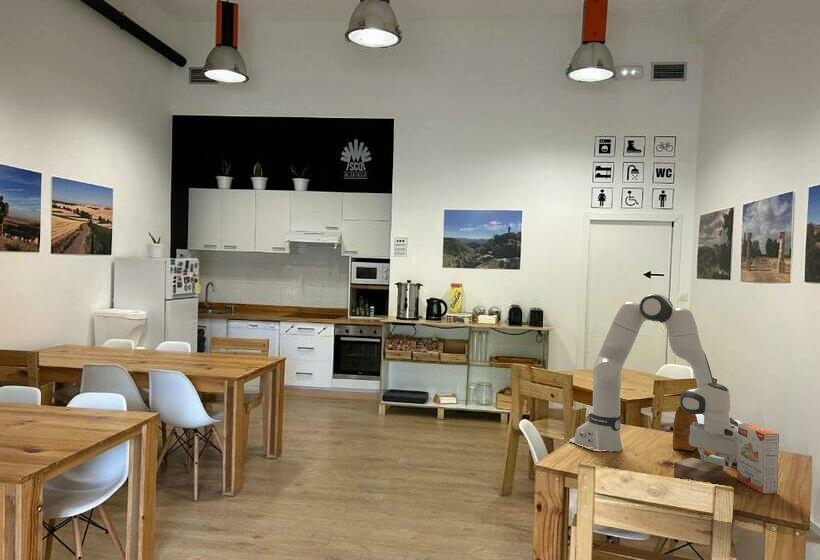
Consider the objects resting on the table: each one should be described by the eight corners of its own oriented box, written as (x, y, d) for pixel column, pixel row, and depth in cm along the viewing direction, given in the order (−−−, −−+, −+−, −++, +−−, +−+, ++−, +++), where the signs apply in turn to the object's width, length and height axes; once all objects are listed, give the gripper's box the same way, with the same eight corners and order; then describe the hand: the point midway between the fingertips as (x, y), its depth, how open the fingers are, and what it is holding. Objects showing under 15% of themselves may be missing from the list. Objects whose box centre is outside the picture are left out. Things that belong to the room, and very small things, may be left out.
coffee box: (713, 454, 249) (714, 416, 249) (730, 456, 248) (731, 417, 247) (720, 461, 240) (721, 421, 240) (737, 462, 239) (739, 422, 238)
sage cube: (704, 469, 229) (705, 456, 229) (711, 467, 232) (711, 454, 232) (718, 473, 225) (718, 460, 225) (724, 471, 228) (724, 458, 228)
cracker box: (735, 480, 218) (737, 422, 218) (751, 480, 218) (753, 423, 218) (761, 494, 204) (763, 433, 204) (778, 494, 204) (780, 433, 204)
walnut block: (673, 476, 221) (674, 462, 220) (690, 470, 228) (691, 457, 228) (706, 485, 211) (706, 471, 211) (722, 479, 218) (723, 465, 218)
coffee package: (701, 447, 259) (702, 396, 259) (694, 453, 249) (696, 401, 249) (676, 443, 265) (678, 393, 265) (669, 449, 256) (670, 397, 255)
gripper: (685, 422, 235) (685, 457, 235) (740, 433, 218) (739, 471, 219) (694, 420, 239) (693, 454, 239) (748, 431, 222) (747, 468, 222)
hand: (715, 463), depth 229 cm, fingers open, 8 cm apart
